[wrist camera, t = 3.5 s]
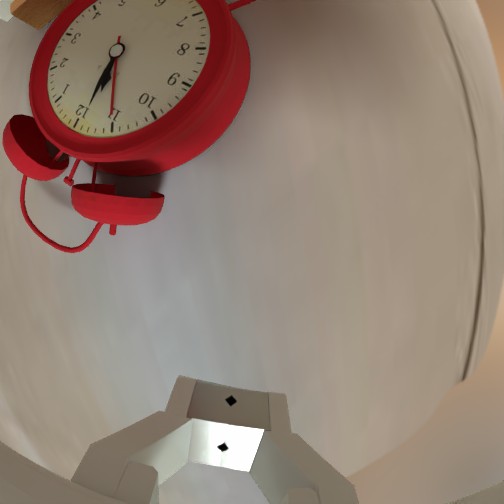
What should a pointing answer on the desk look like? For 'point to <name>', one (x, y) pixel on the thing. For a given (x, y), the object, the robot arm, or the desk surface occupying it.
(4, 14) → the dial gauge
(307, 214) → the desk surface
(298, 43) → the desk surface
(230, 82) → the alarm clock
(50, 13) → the wooden handled metal scraper
